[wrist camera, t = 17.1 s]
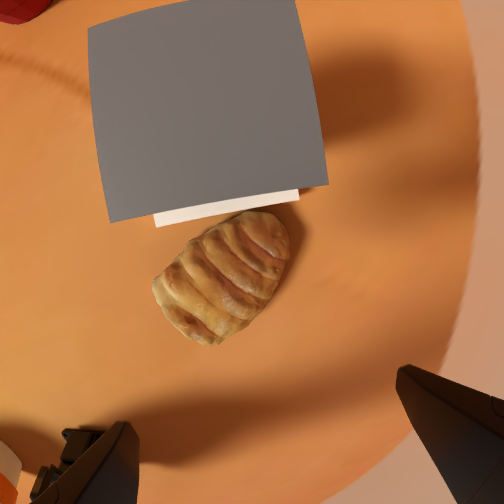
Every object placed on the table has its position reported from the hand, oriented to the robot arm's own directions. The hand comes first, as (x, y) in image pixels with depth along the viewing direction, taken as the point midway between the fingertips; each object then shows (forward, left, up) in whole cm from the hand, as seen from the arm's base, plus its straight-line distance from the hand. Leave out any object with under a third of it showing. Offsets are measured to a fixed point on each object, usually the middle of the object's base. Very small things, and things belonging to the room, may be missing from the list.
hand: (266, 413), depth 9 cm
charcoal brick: (+9, 0, -4) cm, 10 cm away
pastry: (0, +1, -14) cm, 14 cm away
